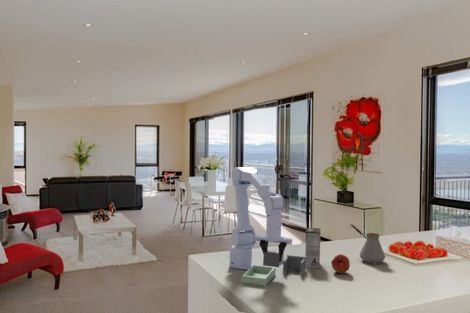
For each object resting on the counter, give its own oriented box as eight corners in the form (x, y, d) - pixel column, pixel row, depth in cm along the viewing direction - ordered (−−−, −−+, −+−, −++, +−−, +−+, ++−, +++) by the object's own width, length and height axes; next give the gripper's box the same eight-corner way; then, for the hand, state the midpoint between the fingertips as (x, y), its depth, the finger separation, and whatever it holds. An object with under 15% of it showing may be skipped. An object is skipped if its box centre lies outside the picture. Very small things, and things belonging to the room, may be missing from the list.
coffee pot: (390, 263, 191) (391, 231, 190) (371, 266, 186) (372, 233, 185) (358, 252, 210) (359, 223, 210) (340, 254, 205) (341, 224, 205)
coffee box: (305, 261, 192) (306, 227, 191) (319, 262, 190) (320, 228, 190) (304, 267, 183) (305, 231, 182) (319, 268, 181) (320, 232, 181)
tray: (241, 283, 160) (241, 275, 160) (253, 271, 175) (253, 264, 175) (265, 286, 157) (265, 278, 157) (275, 274, 172) (275, 267, 171)
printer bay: (282, 273, 173) (283, 259, 172) (287, 268, 180) (287, 254, 180) (302, 276, 170) (302, 261, 170) (305, 270, 178) (305, 256, 177)
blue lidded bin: (263, 265, 159) (263, 250, 160) (269, 262, 169) (270, 248, 170) (278, 267, 157) (279, 252, 158) (284, 263, 167) (285, 249, 168)
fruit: (327, 272, 175) (327, 254, 175) (336, 268, 181) (337, 250, 181) (344, 277, 170) (344, 258, 170) (353, 272, 176) (353, 254, 176)
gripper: (253, 226, 159) (252, 261, 160) (290, 229, 155) (289, 265, 155) (258, 223, 166) (257, 256, 166) (293, 226, 161) (292, 260, 162)
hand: (272, 260), depth 161 cm, fingers closed on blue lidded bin, 5 cm apart
